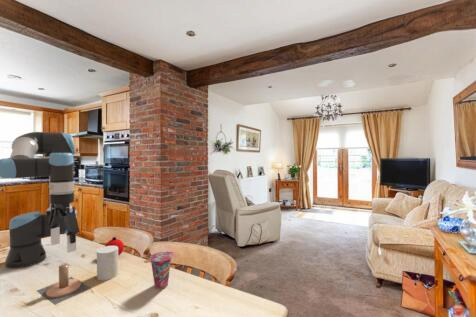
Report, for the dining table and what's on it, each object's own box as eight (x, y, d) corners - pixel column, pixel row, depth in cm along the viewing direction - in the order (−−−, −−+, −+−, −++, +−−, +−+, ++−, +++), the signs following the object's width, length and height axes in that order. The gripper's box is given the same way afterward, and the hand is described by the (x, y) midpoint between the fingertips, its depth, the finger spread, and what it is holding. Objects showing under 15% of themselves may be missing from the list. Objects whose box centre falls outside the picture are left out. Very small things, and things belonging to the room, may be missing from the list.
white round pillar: (109, 282, 99) (109, 253, 98) (92, 280, 100) (92, 252, 100) (122, 273, 107) (122, 246, 106) (106, 271, 108) (106, 245, 108)
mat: (36, 292, 92) (36, 290, 92) (71, 278, 102) (71, 276, 102) (55, 306, 84) (54, 304, 84) (91, 289, 94) (91, 288, 94)
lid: (40, 292, 91) (40, 268, 91) (72, 279, 100) (72, 257, 100) (53, 301, 85) (52, 276, 85) (86, 286, 95) (86, 263, 94)
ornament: (123, 258, 121) (123, 239, 121) (103, 261, 118) (103, 241, 117) (124, 251, 129) (124, 233, 129) (105, 254, 126) (105, 235, 126)
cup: (164, 293, 91) (163, 262, 91) (145, 289, 94) (145, 258, 94) (177, 280, 100) (177, 252, 100) (160, 277, 103) (160, 249, 103)
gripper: (37, 191, 95) (38, 244, 96) (66, 197, 82) (67, 258, 83) (58, 189, 102) (59, 238, 102) (89, 194, 89) (90, 250, 89)
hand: (63, 247), depth 92 cm, fingers open, 13 cm apart
